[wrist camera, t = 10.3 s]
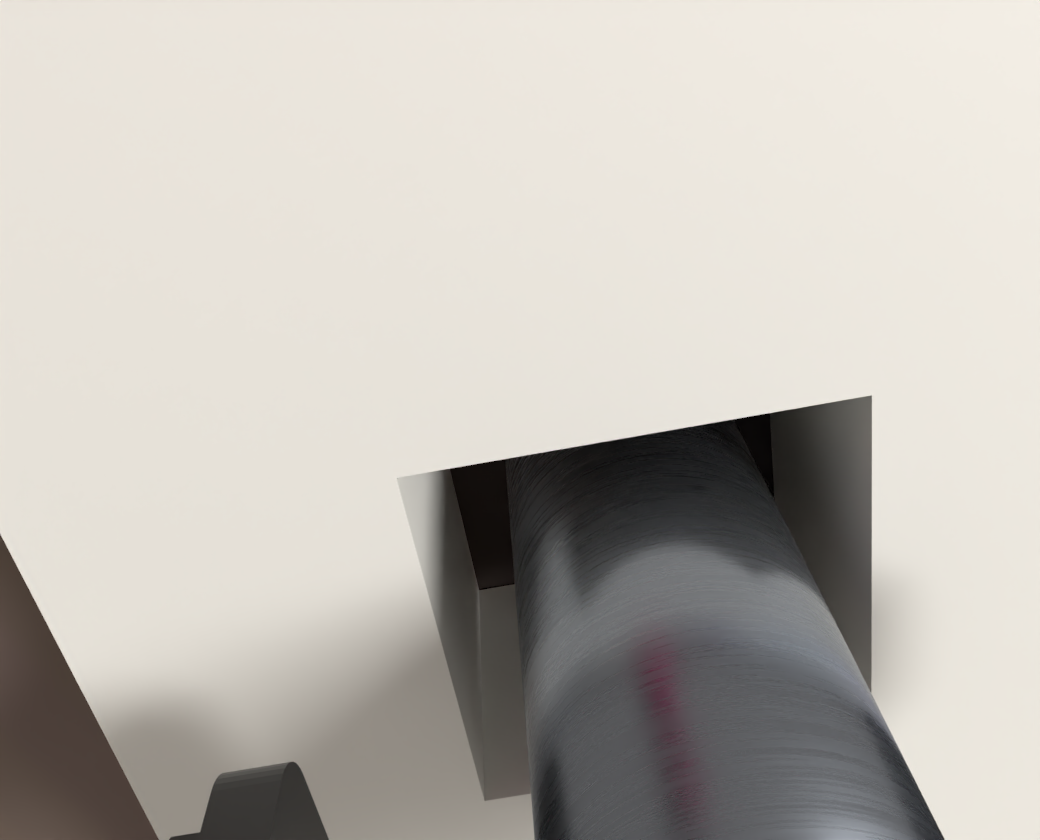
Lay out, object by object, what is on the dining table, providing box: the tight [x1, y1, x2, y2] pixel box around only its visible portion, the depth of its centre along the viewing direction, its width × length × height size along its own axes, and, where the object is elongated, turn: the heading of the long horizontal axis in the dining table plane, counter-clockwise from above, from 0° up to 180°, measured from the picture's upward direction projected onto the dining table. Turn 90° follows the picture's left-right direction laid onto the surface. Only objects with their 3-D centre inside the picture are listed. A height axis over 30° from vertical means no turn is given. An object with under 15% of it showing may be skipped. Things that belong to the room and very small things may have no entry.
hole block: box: [0, 0, 1040, 840], centre depth 14 cm, size 20×14×4 cm
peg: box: [505, 419, 945, 840], centre depth 12 cm, size 4×4×10 cm
